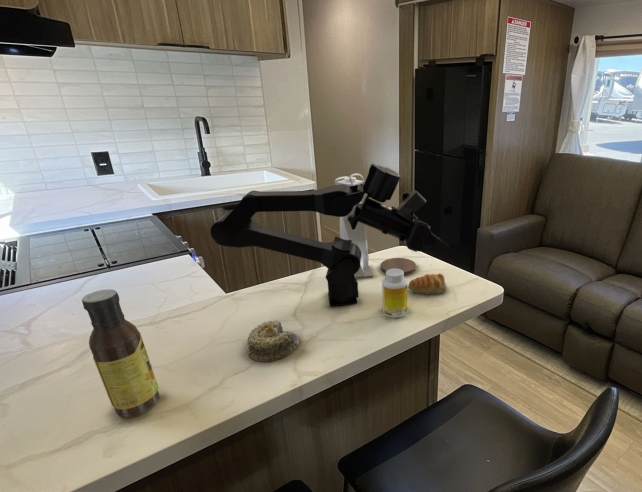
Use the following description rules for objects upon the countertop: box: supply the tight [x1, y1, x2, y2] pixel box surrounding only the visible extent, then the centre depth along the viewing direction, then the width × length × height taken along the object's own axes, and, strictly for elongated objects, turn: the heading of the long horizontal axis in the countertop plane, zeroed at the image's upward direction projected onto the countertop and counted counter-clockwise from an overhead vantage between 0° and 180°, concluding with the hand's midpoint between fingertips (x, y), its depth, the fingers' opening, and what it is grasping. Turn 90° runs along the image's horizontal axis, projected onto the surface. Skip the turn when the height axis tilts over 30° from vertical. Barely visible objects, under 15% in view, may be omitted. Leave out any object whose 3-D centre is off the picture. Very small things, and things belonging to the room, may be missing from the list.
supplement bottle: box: [381, 269, 408, 319], centre depth 90 cm, size 6×6×10 cm
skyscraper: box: [334, 172, 374, 280], centre depth 104 cm, size 8×8×28 cm
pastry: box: [407, 272, 447, 295], centre depth 102 cm, size 9×7×4 cm
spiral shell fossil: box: [246, 320, 300, 362], centre depth 78 cm, size 10×10×5 cm
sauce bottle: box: [81, 288, 160, 418], centre depth 60 cm, size 6×6×20 cm
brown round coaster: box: [380, 257, 417, 277], centre depth 113 cm, size 10×10×1 cm
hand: (443, 244), depth 93 cm, fingers open, 9 cm apart
